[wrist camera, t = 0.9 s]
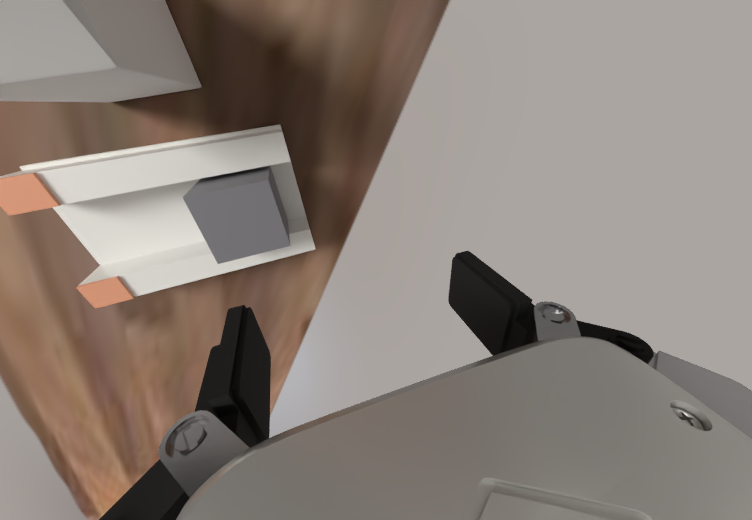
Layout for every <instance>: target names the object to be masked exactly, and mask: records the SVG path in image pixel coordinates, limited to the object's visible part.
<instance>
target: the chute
mask: <svg viewBox="0 0 752 520" xmlns="http://www.w3.org/2000/svg"><path fill="white" fill-rule="evenodd" d="M265 166H270V167H271V170H272V173H273V176H274V179H275V182H276V185H277V188H278V191H279V194H280V197H281V200H282V203H283V207H284V210H285V213H286V216H287V219H288V228H289V237H290V246H288V247H284V248H280V249H276V250H272V251H268V252H264V253H260V254H256V255H252V256H248V257H244V258H240V259H236V260H233V261H229V262H225V263H221V264H218V263H217V261H216V260H215V258H214V256H213V254H212V252H211V250H210V248H209V246H208V245H207V243H206V241H205V239H204V237H203V235H202V233H201V231H200V229H199V228H198V226H197V224H196V222H195V220H194V218H193V216H192V214H191V213H190V211H189V209H188V207H187V205H186V203H185V201H184V199H183V196H184V195H185V194H186V193H187V192H188V191H189V190H190V189H191V188H192V187H193V186H194V185H195V184H196V183H197V182H198V181H199V180H200V179H201V178H206V177H212V176H217V175H222V174H228V173H233V172H238V171H243V170H249V169H254V168H259V167H265ZM20 168H21V169H22V171H19V172H15V173H11V174H8V175H4V176H0V206H1V207H2V209H3V210H4V211H5V212H6V213H7V214H8V215H9V216H10V215H15V214H20V213H25V212H31V211H36V210H41V209H46V208H52V207H53V208H54V210H55V211H56V212H57V213H58V215H59V216H60V217H61V218H62V219H63V221H64V222H65V223H66V224H67V226H68V227H69V228H70V229H71V230H72V232H73V233H74V234H75V235H76V236H77V238H78V239H79V240H80V241H81V243H82V244H83V245H84V246H85V247H86V249H87V250H88V251H89V252H90V254H91V255H92V256H93V257H94V258H95V260H96V261H97V262H98V263H99V265H100V266H99V267H98V268H97V269H96V270H95V271H94V272H92V273H91V274H90V275H89V276H88V277H87V278H86V279H85V280H84V281H83V282H82V283H81V284H79V285H78V286H77V287H76V288H77V289H78V290H79V291H80V292H81V293H82V295H83V296H84V297H85V298H86V299H87V300H88V301H89V302H90V303H91V304H92V305H93V306H94V307H95V308H99V307H103V306H107V305H111V304H115V303H118V302H122V301H126V300H130V299H133V298H134V297H135V296H139V295H143V294H147V293H151V292H154V291H158V290H162V289H166V288H170V287H174V286H177V285H181V284H185V283H189V282H193V281H197V280H200V279H204V278H208V277H212V276H216V275H220V274H223V273H227V272H231V271H235V270H239V269H243V268H246V267H250V266H254V265H258V264H262V263H265V262H269V261H273V260H277V259H281V258H285V257H288V256H292V255H296V254H300V253H304V252H308V251H311V250H315V245H314V242H313V238H312V235H311V231H310V228H309V224H308V221H307V217H306V214H305V210H304V207H303V203H302V199H301V196H300V192H299V189H298V185H297V182H296V178H295V175H294V171H293V168H292V164H291V160H290V157H289V153H288V150H287V146H286V143H285V139H284V136H283V132H282V129H281V125H280V124H279V125H272V126H266V127H260V128H254V129H247V130H241V131H235V132H228V133H222V134H216V135H210V136H203V137H197V138H191V139H185V140H178V141H172V142H166V143H159V144H153V145H147V146H141V147H134V148H128V149H122V150H115V151H109V152H103V153H97V154H90V155H84V156H78V157H72V158H65V159H59V160H53V161H46V162H40V163H34V164H28V165H24V166H20Z"/></svg>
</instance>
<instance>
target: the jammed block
mask: <svg viewBox="0 0 752 520" xmlns="http://www.w3.org/2000/svg"><path fill="white" fill-rule="evenodd" d="M183 199H184V201H185V203H186V205H187V207H188V209H189V211H190V213H191V214H192V216H193V218H194V220H195V222H196V224H197V226H198V228H199V229H200V231H201V233H202V235H203V237H204V239H205V241H206V243H207V245H208V246H209V248H210V250H211V252H212V254H213V256H214V258H215V260H216V261H217V263H218V264H221V263H225V262H229V261H233V260H236V259H240V258H244V257H248V256H252V255H256V254H260V253H264V252H268V251H272V250H276V249H280V248H284V247H288V246H290V237H289V228H288V219H287V216H286V213H285V210H284V207H283V203H282V200H281V197H280V194H279V191H278V188H277V185H276V182H275V179H274V176H273V173H272V170H271V167H270V166H265V167H259V168H254V169H249V170H243V171H238V172H233V173H228V174H222V175H217V176H212V177H206V178H201V179H200V180H199V181H198V182H197V183H196V184H195V185H194V186H193V187H192V188H191V189H190V190H189V191H188V192H187V193H186V194H185V195H184V196H183Z"/></svg>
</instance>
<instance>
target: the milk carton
mask: <svg viewBox="0 0 752 520" xmlns="http://www.w3.org/2000/svg"><path fill="white" fill-rule="evenodd" d="M201 87H202V86H201V84H200V81H199V79H198V77H197V74H196V72H195V69H194V67H193V65H192V62H191V60H190V58H189V55H188V53H187V51H186V48H185V46H184V44H183V41H182V39H181V37H180V34H179V32H178V30H177V27H176V25H175V22H174V20H173V18H172V15H171V13H170V11H169V8H168V6H167V4H166V1H165V0H0V101H47V102H116V101H123V100H129V99H135V98H142V97H148V96H154V95H161V94H167V93H173V92H180V91H186V90H192V89H198V88H201Z"/></svg>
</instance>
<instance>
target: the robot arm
mask: <svg viewBox="0 0 752 520" xmlns="http://www.w3.org/2000/svg"><path fill="white" fill-rule="evenodd" d="M531 302H532V299H530V298H529V297H528V296H526V295H525V294H524V293H523V292H521V291H520V290H519V289H517V288H516V287H515V286H514V285H512V284H511V283H510V282H508V281H507V280H506V279H504V278H503V277H502V276H501V275H499V274H498V273H496V272H495V271H494V270H493V269H491V268H490V267H489V266H488V265H486V264H485V263H484V262H482V261H481V260H480V259H479V258H477V257H476V256H475V255H473V254H472V253H471V252H469V251H465V252H461V253H457V254H456V255H455V257H454V258H453V260H452V270H451V279H450V290H449V304H450V306H451V307H452V308H453V309H454V311H455V312H456V313H457V314H458V315H459V316H460V318H461V319H462V320H463V321H464V322H465V323H466V325H467V326H468V327H469V328H470V329H471V330H472V332H473V333H474V334H475V335H476V336H477V337H478V339H479V340H480V341H481V342H482V343H483V344H484V346H485V347H486V348H487V349H488V350H489V351H490V353H491V354H492V355H493V356H492V357H489V358H486V359H483V360H480V361H477V362H474V363H471V364H469V365H466V366H463V367H460V368H457V369H454V370H451V371H449V372H446V373H443V374H440V375H437V376H435V377H432V378H429V379H426V380H423V381H420V382H418V383H415V384H412V385H409V386H407V387H404V388H401V389H398V390H395V391H392V392H390V393H387V394H384V395H381V396H379V397H376V398H373V399H370V400H367V401H365V402H362V403H360V404H357V405H354V406H351V407H348V408H345V409H343V410H340V411H337V412H335V413H332V414H329V415H326V416H324V417H321V418H319V419H316V420H313V421H310V422H308V423H305V424H303V425H300V426H297V427H295V428H292V429H290V430H287V431H285V432H283V433H280V434H278V435H276V436H273V437H271V438H269V421H270V368H271V357H270V352H269V349H268V347H267V344H266V342H265V340H264V337H263V335H262V332H261V330H260V328H259V325H258V323H257V321H256V318H255V316H254V313H253V311H252V309H251V307H249V308H246V307H245V305H242V306H238V307H234V308H230V309H228V312H227V317H226V321H225V326H224V330H223V334H222V339H221V343H220V345H217V346H214V347H213V348H212V349H211V351H210V355H209V359H208V362H207V366H206V370H205V374H204V378H203V382H202V386H201V389H200V393H199V397H198V401H197V405H196V409H195V412H192V413H190V414H188V415H186V416H184V417H183V418H181V419H180V420H179V421H177V422H176V423H175V424H174V425H173V426H172V427H171V428H170V429H169V430H168V431H167V433H166V434H165V436H164V437H163V439H162V441H161V444H160V446H159V454H158V455H159V457H160V459H159V460H158V461H157V462H156V463H155V464H154V465H153V466H152V467H151V468H150V469H149V470H148V471H147V472H146V473H145V474H144V475H143V476H142V477H141V478H140V479H139V480H138V481H137V482H136V483H135V484H134V485H133V486H132V487H131V488H130V489H129V490H128V491H127V492H126V493H125V494H124V495H123V496H122V497H121V498H120V499H119V500H118V501H117V502H116V503H115V504H114V505H113V506H112V507H111V508H110V509H109V510H108V511H107V512H106V513H105V514H104V515H103V516H102V517H101V518H100V519H99V520H752V391H751V390H750V389H748V388H747V387H745V386H743V385H742V384H740V383H738V382H736V381H734V380H732V379H730V378H727V377H725V376H722V375H720V374H717V373H715V372H712V371H710V370H707V369H705V368H702V367H699V366H697V365H694V364H692V363H689V362H687V361H684V360H682V359H679V358H677V357H674V356H671V355H669V354H667V353H664V352H662V351H658V352H657V353H655V352H653V350H652V349H651V347H650V346H649V345H648V344H647V343H646V342H645V341H643V340H641V339H640V338H639V337H636V336H634V335H632V334H630V333H627V332H623V331H619V330H615V329H611V328H606V327H602V326H598V325H594V324H590V323H585V322H581V321H577V320H576V318H575V316H574V314H573V313H572V312H571V311H570V310H569V309H567V308H566V307H564V306H562V305H560V304H557V303H553V302H540V303H538V304H536V305H535V306H534V305H533V304H532V303H531Z"/></svg>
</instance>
